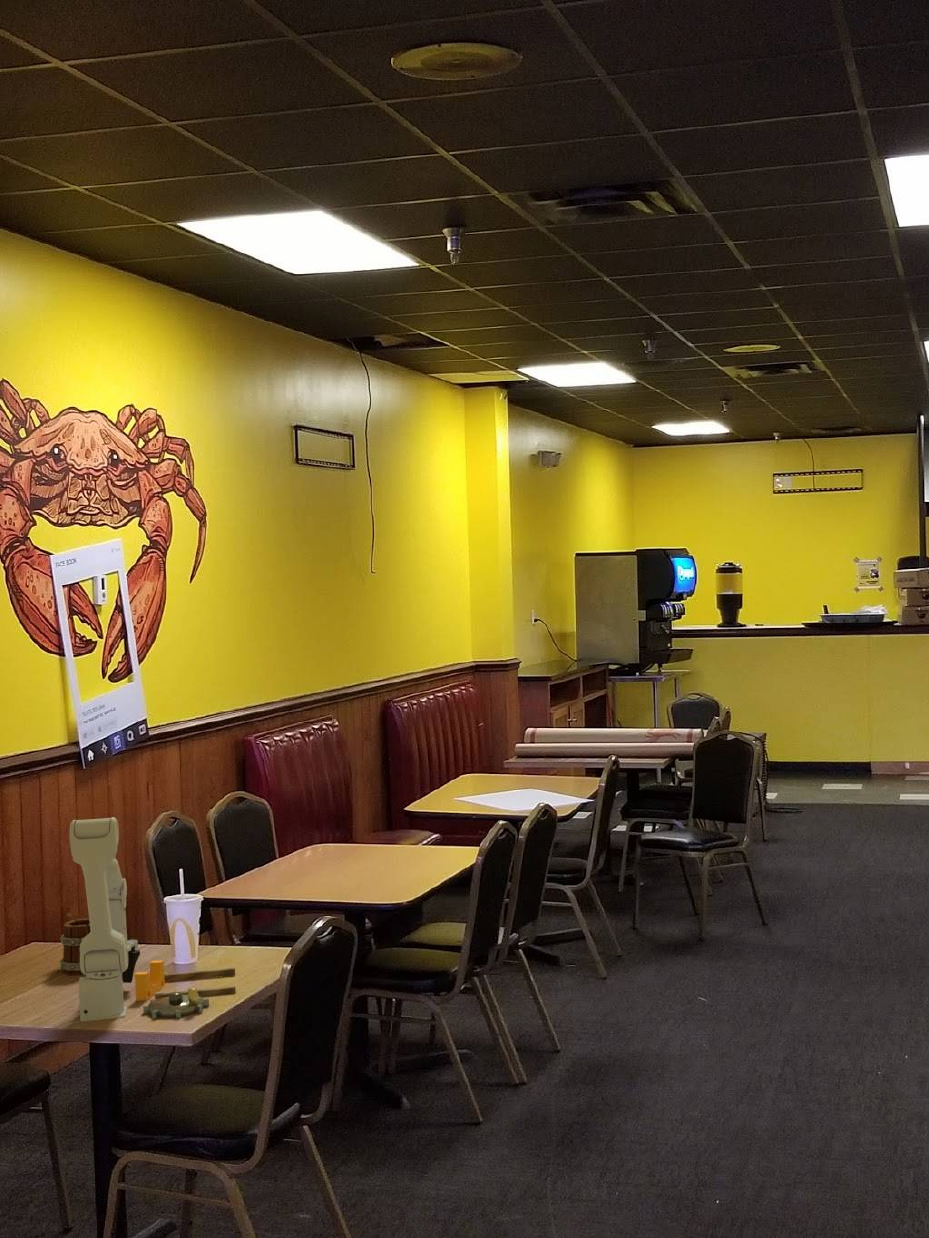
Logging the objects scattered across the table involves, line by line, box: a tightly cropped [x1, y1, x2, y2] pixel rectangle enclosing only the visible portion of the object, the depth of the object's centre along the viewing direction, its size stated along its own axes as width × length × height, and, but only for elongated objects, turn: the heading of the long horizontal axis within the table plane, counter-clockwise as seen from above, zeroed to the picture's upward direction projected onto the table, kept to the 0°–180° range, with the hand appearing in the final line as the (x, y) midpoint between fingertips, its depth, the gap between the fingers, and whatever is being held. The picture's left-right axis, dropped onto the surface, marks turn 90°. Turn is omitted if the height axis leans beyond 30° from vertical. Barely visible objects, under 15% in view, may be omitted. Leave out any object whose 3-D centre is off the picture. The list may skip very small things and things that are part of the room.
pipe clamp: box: [134, 959, 166, 1001], centre depth 333 cm, size 12×4×6 cm, turn 173°
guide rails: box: [154, 967, 237, 999], centre depth 336 cm, size 18×18×2 cm
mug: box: [59, 912, 91, 976], centre depth 360 cm, size 12×14×15 cm
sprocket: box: [142, 987, 210, 1020], centre depth 318 cm, size 14×14×5 cm
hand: (117, 986), depth 333 cm, fingers open, 7 cm apart
